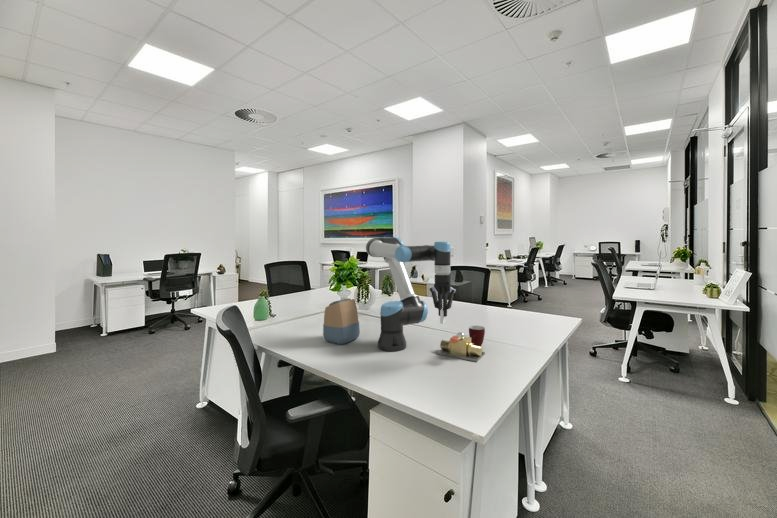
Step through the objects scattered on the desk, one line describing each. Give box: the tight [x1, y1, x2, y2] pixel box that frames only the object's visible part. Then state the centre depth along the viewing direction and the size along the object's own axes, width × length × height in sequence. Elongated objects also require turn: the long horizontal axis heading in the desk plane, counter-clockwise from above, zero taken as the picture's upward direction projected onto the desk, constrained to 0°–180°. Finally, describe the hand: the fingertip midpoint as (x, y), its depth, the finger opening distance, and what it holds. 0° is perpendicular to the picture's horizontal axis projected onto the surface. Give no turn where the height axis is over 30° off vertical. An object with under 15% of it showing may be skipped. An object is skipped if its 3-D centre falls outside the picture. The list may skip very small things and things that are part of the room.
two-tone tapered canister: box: [322, 298, 361, 345], centre depth 191 cm, size 17×17×23 cm
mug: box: [468, 325, 486, 347], centre depth 177 cm, size 10×8×10 cm
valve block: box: [436, 334, 486, 363], centre depth 167 cm, size 20×12×8 cm, turn 57°
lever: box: [449, 332, 465, 344], centre depth 163 cm, size 12×3×3 cm, turn 147°
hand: (442, 322), depth 163 cm, fingers closed
